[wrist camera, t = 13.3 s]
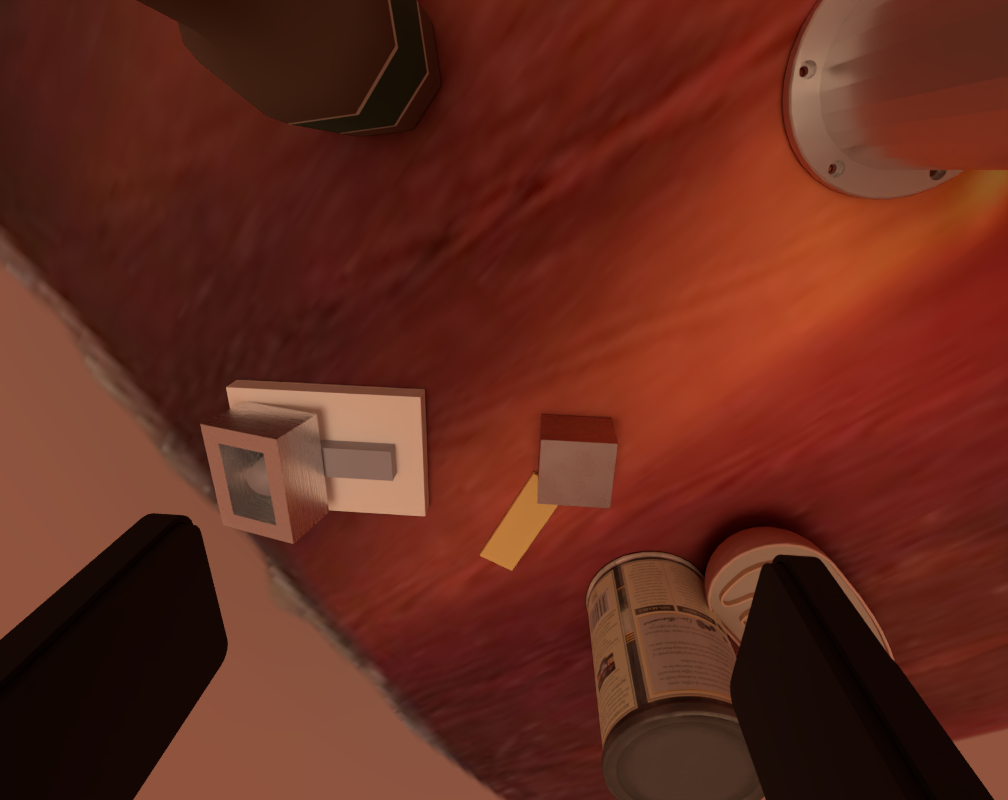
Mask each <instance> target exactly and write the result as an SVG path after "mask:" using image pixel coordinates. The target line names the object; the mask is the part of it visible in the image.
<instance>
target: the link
mask: <svg viewBox="0 0 1008 800" xmlns="http://www.w3.org/2000/svg"><path fill="white" fill-rule="evenodd" d="M200 425H201V429H202V434H203V438H204V443H205V447H206V452H207V456H208V461H209V465H210V470H211V474H212V478H213V483H214V487H215V492H216V496H217V501H218V505H219V510H220V514H221V518H222V523H223V525H225V526H228V527H232V528H236V529H240V530H243V531H247V532H251V533H254V534H258V535H262V536H266V537H269V538H273V539H277V540H281V541H284V542H288V543H292V544H294V543H295V542H296V541H297V540H298V539H299V538H301V537H302V536H303V535H304V534H305V533H306V532H307V531H308V530H309V529H310V528H311V527H313V526H314V525H315V524H316V523H317V522H318V521H319V520H320V519H321V518H322V517H323V516H325V515H326V514H327V513H328V512H329V508H328V500H327V492H326V484H325V476H324V468H323V460H322V452H321V444H320V437H319V429H318V421H317V414H313V413H307V412H302V411H296V410H291V409H285V408H280V407H274V406H269V405H263V404H258V403H253V402H247V401H245V402H243V403H241V404H239V405H237V406H235V407H233V408H231V409H229V410H227V411H225V412H223V413H221V414H219V415H217V416H215V417H213V418H211V419H209V420H207V421H205V422H203V423H201V424H200ZM263 456H264V459H265V464H266V470H267V476H268V481H269V487H270V493H271V496H265V495H261V494H259V493H257V492H255V491H254V490H253V489H252V488H251V487H250V486H249V484H248V481H247V473H248V471H249V470H250V469H251V468H252V467H253V466H254V465H255V464H256V463H257V462H258V461H259V460H260V459H261V458H262V457H263Z"/></svg>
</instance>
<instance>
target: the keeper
mask: <svg viewBox="0 0 1008 800" xmlns="http://www.w3.org/2000/svg"><path fill="white" fill-rule="evenodd" d="M226 390H227V395H228V400H229V405H230V409H231V408H233V407H235V406H237V405H239V404H241V403H243V402H245V401H247V402H253V403H258V404H263V405H269V406H274V407H280V408H285V409H291V410H296V411H302V412H307V413H313V414H317V421H318V429H319V437H320V444H321V452H322V460H323V468H324V476H325V484H326V492H327V500H328V508H329V510H334V511H350V512H365V513H381V514H397V515H412V516H426V513H427V510H428V507H429V489H428V461H427V434H426V406H425V389H411V388H391V387H371V386H352V385H332V384H312V383H293V382H273V381H253V380H236V381H235V382H233V383H232V384H230V385H229V386H227V387H226ZM247 481H248V484H249V486H250V487H251V488H252V489H253V490H254V491H255V492H257V493H259V494H261V495H265V496H271V493H270V487H269V481H268V476H267V470H266V464H265V459H264V456H263V457H262V458H261V459H260V460H259V461H258V462H257V463H256V464H255V465H254V466H253V467H252V468H251V469H250V470H249V471H248V473H247Z"/></svg>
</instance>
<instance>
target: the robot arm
mask: <svg viewBox="0 0 1008 800" xmlns="http://www.w3.org/2000/svg"><path fill="white" fill-rule="evenodd" d="M801 67H802V68H804V70H805V74H804V76H803V77H800V75H799V69H800V68H801ZM782 105H783V114H784V124H785V129H786V132H787V135H788V138H789V141H790V145H791V147H792V149H793V151H794V153H795V154H796V156H797V158H798V160H799V161H800V163H801V165H802V166H803V167H804V168H805V169H806V170H807V171H808V172H809V173H810V174H811V175H812V176H813V177H814V178H815V179H816V180H817V181H819V182H820V183H822V184H824V185H825V186H827V187H828V188H830V189H831V190H834V191H837V192H840V193H842V194H845V195H848V196H852V197H859V198H866V199H893V198H900V197H906V196H912V195H915V194H918V193H921V192H924V191H926V190H929V189H932V188H935V187H937V186H939V185H941V184H943V183H944V182H946V181H948V180H950V179H952V178H954V177H956V176H958V175H959V174H960V173H962V172H963V171H964V170H1008V0H818V1H817V2H816V4H815V5H814V7H813V9H812V10H811V12H810V14H809V15H808V17H807V19H806V20H805V22H804V24H803V25H802V27H801V29H800V32H799V34H798V36H797V39H796V41H795V44H794V46H793V48H792V51H791V53H790V57H789V61H788V65H787V69H786V74H785V78H784V88H783V101H782ZM830 165H832V166H833V170H832V172H831V173H828V168H829V167H830ZM930 170H931V173H930ZM227 646H228V642H227V636H226V632H225V628H224V624H223V620H222V616H221V612H220V608H219V604H218V600H217V596H216V591H215V587H214V583H213V580H212V575H211V571H210V567H209V563H208V559H207V555H206V551H205V547H204V543H203V538H202V535H201V531H200V529H199V528H198V527H197V526H196V525H193V523H192V521H191V520H190V519H189V518H188V517H187V516H183V515H170V514H154V513H153V514H148V515H146V516H144V517H143V518H141V519H140V520H139V521H138V522H137V523H136V524H134V525H133V526H132V527H131V528H130V529H128V530H127V531H126V532H125V533H124V534H123V535H121V536H120V537H119V538H118V539H117V540H116V541H114V542H113V543H112V544H111V545H110V546H109V547H108V548H107V549H105V550H104V551H103V552H102V553H101V554H99V555H98V556H97V557H96V558H95V559H94V560H92V561H91V562H90V563H89V564H88V565H87V566H86V567H84V568H83V569H82V570H81V571H80V572H79V573H77V574H76V575H75V576H74V577H73V578H72V579H70V580H69V581H68V582H67V583H66V584H65V585H64V586H62V587H61V588H60V589H59V590H58V591H56V592H55V593H54V594H53V595H52V596H51V597H50V598H48V599H47V600H46V601H45V602H44V603H43V604H41V605H40V606H39V607H38V608H37V609H36V610H34V612H32V613H31V614H30V615H29V616H28V617H26V618H25V619H24V620H23V621H22V622H21V623H19V624H18V625H17V626H16V627H15V628H14V629H12V630H11V631H10V632H9V633H8V634H7V635H5V636H4V637H3V638H2V639H1V640H0V800H133V799H134V798H135V796H136V795H137V793H138V791H139V790H140V788H141V787H142V785H143V784H144V782H145V781H146V779H147V778H148V776H149V775H150V773H151V772H152V770H153V769H154V767H155V765H156V764H157V762H158V761H159V759H160V758H161V756H162V755H163V753H164V752H165V750H166V749H167V747H168V746H169V744H170V743H171V741H172V739H173V738H174V737H175V735H176V733H177V732H178V730H179V729H180V727H181V726H182V724H183V723H184V721H185V720H186V718H187V717H188V715H189V714H190V712H191V711H192V709H193V707H194V706H195V704H196V703H197V701H198V700H199V698H200V697H201V695H202V694H203V692H204V690H205V689H206V687H207V686H208V685H209V683H210V681H211V680H212V678H213V677H214V675H215V674H216V672H217V671H218V669H219V668H220V666H221V664H222V663H223V661H224V658H225V656H226V652H227ZM730 695H731V701H732V705H733V708H734V711H735V714H736V716H737V719H738V722H739V725H740V728H741V731H742V733H743V736H744V739H745V742H746V745H747V748H748V751H749V753H750V756H751V759H752V762H753V765H754V768H755V770H756V773H757V776H758V779H759V782H760V785H761V787H762V790H763V793H764V796H765V799H766V800H994V799H993V798H992V796H991V795H990V793H989V792H988V790H987V789H986V788H985V786H984V785H983V783H982V782H981V781H980V779H979V778H978V777H977V775H976V774H975V772H974V771H973V770H972V768H971V767H970V765H969V764H968V763H967V761H966V760H965V758H964V757H963V756H962V754H961V753H960V751H959V750H958V749H957V747H956V746H955V744H954V743H953V742H952V740H951V739H950V737H949V736H948V735H947V733H946V732H945V730H944V729H943V728H942V726H941V725H940V723H939V722H938V721H937V719H936V718H935V716H934V715H933V714H932V712H931V711H930V709H929V708H928V707H927V705H926V704H925V702H924V701H923V700H922V698H921V697H920V695H919V694H918V693H917V691H916V690H915V688H914V687H913V686H912V684H911V683H910V681H909V680H908V679H907V677H906V676H905V674H904V673H903V672H902V670H901V669H900V667H899V666H898V665H897V664H896V663H895V661H894V660H893V659H892V658H891V657H890V656H889V654H888V653H887V652H886V650H885V649H884V647H883V646H882V644H881V643H880V642H879V640H878V639H877V637H876V636H875V635H874V633H873V632H872V630H871V629H870V628H869V626H868V625H867V623H866V622H865V621H864V619H863V618H862V616H861V615H860V614H859V612H858V611H857V609H856V608H855V607H854V605H853V604H852V602H851V601H850V600H849V598H848V597H847V595H846V594H845V592H844V591H843V590H842V588H841V587H840V585H839V584H838V583H837V581H836V580H835V578H834V577H833V576H832V574H831V573H830V571H829V570H828V569H827V567H826V566H825V564H824V563H823V562H822V561H821V560H820V559H819V558H817V557H813V556H797V555H782V554H780V555H776V557H775V558H774V559H773V561H772V563H765V564H764V565H763V566H762V568H761V571H760V575H759V578H758V582H757V586H756V589H755V593H754V596H753V600H752V604H751V607H750V611H749V615H748V618H747V622H746V625H745V629H744V633H743V636H742V640H741V644H740V647H739V651H738V654H737V658H736V662H735V665H734V669H733V673H732V676H731V681H730Z"/></svg>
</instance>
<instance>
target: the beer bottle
mask: <svg viewBox="0 0 1008 800" xmlns="http://www.w3.org/2000/svg"><path fill="white" fill-rule="evenodd" d="M137 1H139V2H141V3H143V4H145V5H147V6H149V7H151V8H153V9H155V10H157V11H158V12H160V13H162V14H164V15H166V16H168V17H170V18H172V19H174V20H176V21H177V22H178V25H179V29H180V32H181V35H182V39H183V42H184V45H185V46H186V47H187V48H188V49H189V51H190V52H191V53H192V54H193V55H194V56H195V58H196V59H197V60H198V61H199V62H200V63H201V64H202V65H204V66H205V67H206V68H207V69H209V70H210V71H211V72H212V73H213V74H215V75H216V76H217V77H218V78H220V79H221V80H222V81H223V82H225V83H226V84H227V85H228V86H230V87H231V88H232V89H233V90H235V91H236V92H237V93H238V94H240V95H241V96H242V97H243V98H245V99H246V100H247V101H248V102H250V103H251V104H252V105H253V106H255V107H256V108H257V109H258V110H260V111H261V112H262V113H263V114H265V115H266V116H268V117H271V118H273V119H276V120H279V121H281V122H284V123H287V124H292V125H297V126H302V127H308V128H313V129H319V130H324V131H329V132H335V133H340V134H346V135H351V136H372V135H379V134H386V133H394V132H401V131H408V130H413V129H414V127H415V126H416V124H417V123H418V121H419V120H420V118H421V116H422V115H423V113H424V112H425V110H426V108H427V107H428V105H429V104H430V102H431V101H432V99H433V97H434V96H435V94H436V93H437V91H438V90H439V88H440V86H441V80H440V73H439V66H438V59H437V52H436V44H435V37H434V30H433V25H432V23H431V21H430V19H429V17H428V15H427V14H426V12H425V11H424V10H423V8H422V7H421V6H420V4H419V3H418V1H417V0H137Z"/></svg>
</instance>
